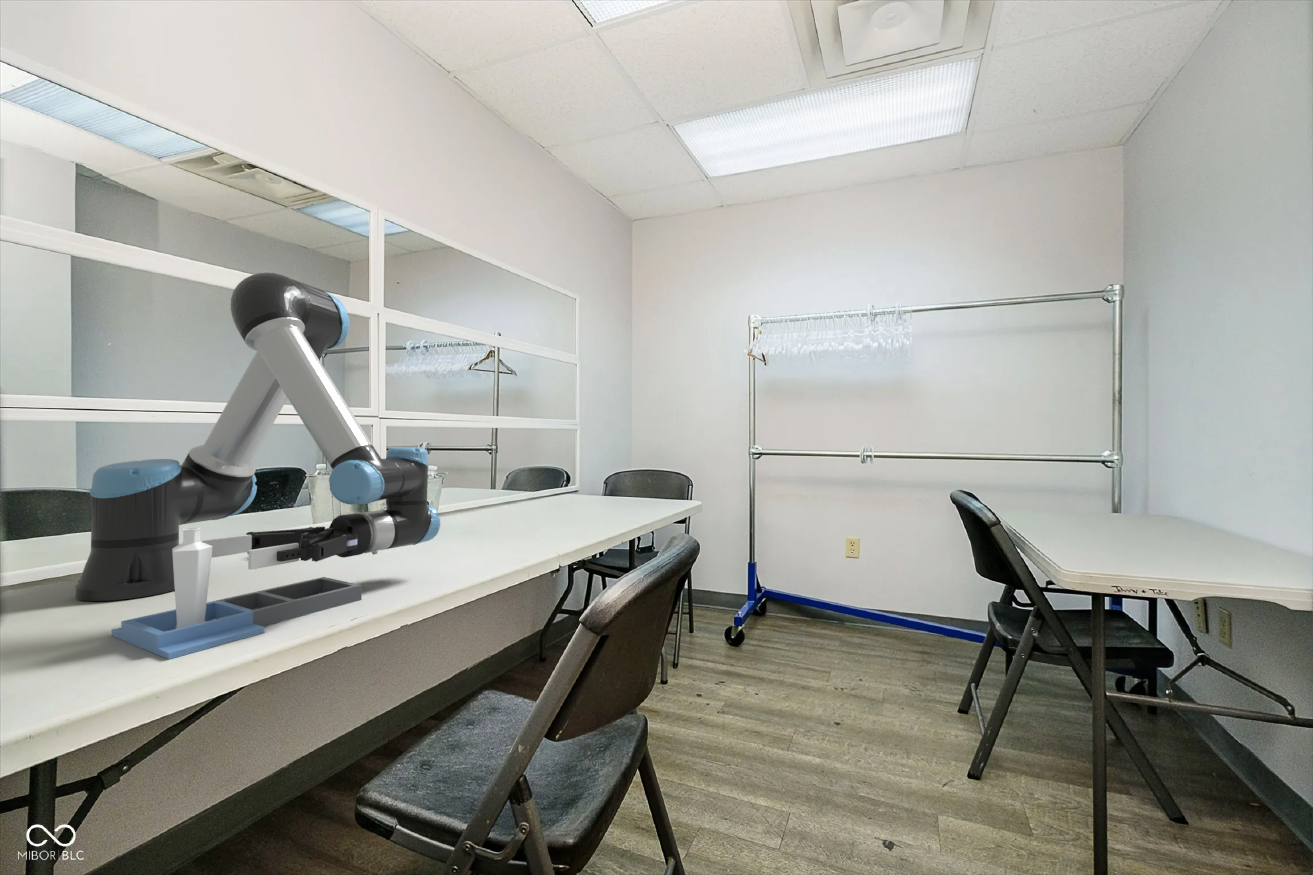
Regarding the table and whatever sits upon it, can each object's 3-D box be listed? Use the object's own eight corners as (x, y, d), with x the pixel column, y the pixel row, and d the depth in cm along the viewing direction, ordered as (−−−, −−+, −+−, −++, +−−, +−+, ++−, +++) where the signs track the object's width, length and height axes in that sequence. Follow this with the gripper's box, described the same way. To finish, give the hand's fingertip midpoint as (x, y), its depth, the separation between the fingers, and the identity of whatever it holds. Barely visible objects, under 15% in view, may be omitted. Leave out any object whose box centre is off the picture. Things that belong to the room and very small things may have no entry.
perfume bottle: (176, 641, 75) (177, 532, 75) (163, 635, 77) (165, 529, 77) (216, 631, 79) (218, 528, 79) (203, 626, 81) (204, 525, 81)
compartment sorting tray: (313, 588, 102) (313, 574, 102) (372, 601, 94) (372, 587, 94) (111, 635, 77) (111, 617, 77) (168, 659, 69) (169, 639, 69)
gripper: (405, 561, 94) (271, 591, 76) (320, 546, 106) (185, 569, 88) (405, 518, 94) (271, 537, 76) (320, 508, 106) (186, 522, 88)
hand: (225, 554), depth 82 cm, fingers open, 13 cm apart
